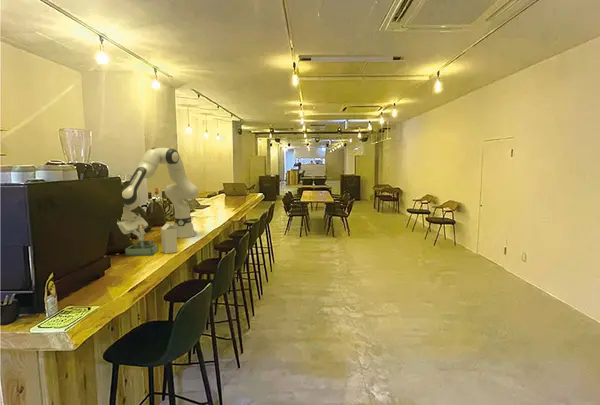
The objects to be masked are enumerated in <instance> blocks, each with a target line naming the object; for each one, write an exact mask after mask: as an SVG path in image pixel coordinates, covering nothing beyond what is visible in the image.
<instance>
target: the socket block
mask: <svg viewBox="0 0 600 405" xmlns="http://www.w3.org/2000/svg"><path fill="white" fill-rule="evenodd" d="M137 245H139V242H138V243H137ZM144 245H154V241H153V240H144Z"/></svg>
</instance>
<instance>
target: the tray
mask: <svg viewBox="0 0 600 405" xmlns="http://www.w3.org/2000/svg"><path fill="white" fill-rule="evenodd" d="M144 247H145V249H139V245H138V244H131V245H130V246H128V247H127V248H125V249H124V253H125V254H124V255H125V257H139V256H140V257H143V256H144V257H146V256H148V257H149V256H154V255H155V254H157V253H158V252H159V244H153V245H144Z"/></svg>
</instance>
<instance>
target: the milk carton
mask: <svg viewBox="0 0 600 405" xmlns="http://www.w3.org/2000/svg"><path fill="white" fill-rule="evenodd" d="M173 226H174V223H171V222H170V221H165V223H164V225H163V226H161V228H160V229H161V230H160V232H161V251H162V253H163V254H166V255H167V254H172V253H173V254H174V253H178V238H177V230H176V228H175V227H173Z"/></svg>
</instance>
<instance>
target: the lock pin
mask: <svg viewBox="0 0 600 405" xmlns="http://www.w3.org/2000/svg"><path fill="white" fill-rule="evenodd" d="M137 232H138V233H140V234H141V236H140V237H138V243H139V249H145V247H144V241H145V235H144V232H145V229H144V227H143V224H139V225H138V231H137Z"/></svg>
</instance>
